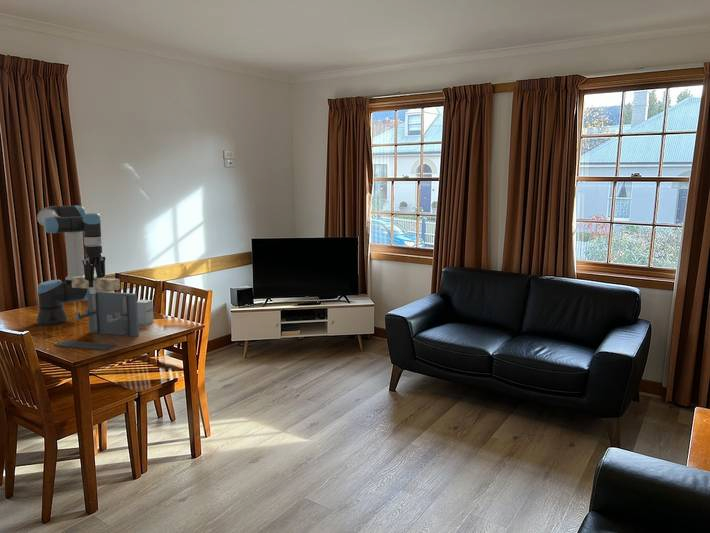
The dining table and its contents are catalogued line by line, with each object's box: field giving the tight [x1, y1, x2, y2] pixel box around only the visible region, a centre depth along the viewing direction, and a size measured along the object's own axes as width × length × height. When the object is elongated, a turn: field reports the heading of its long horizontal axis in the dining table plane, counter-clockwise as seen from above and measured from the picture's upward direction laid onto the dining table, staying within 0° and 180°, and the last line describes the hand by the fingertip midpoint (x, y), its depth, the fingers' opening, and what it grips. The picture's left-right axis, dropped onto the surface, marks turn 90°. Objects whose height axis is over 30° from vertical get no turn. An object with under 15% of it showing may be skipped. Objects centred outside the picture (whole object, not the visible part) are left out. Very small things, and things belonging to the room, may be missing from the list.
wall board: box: [87, 290, 140, 337], centre depth 270 cm, size 28×2×22 cm, turn 77°
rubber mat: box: [53, 339, 117, 352], centre depth 251 cm, size 28×8×1 cm, turn 77°
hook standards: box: [74, 294, 131, 338], centre depth 263 cm, size 20×14×21 cm
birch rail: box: [71, 276, 121, 292], centre depth 257 cm, size 24×4×5 cm, turn 77°
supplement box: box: [137, 299, 155, 326], centre depth 292 cm, size 7×7×13 cm
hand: (96, 292), depth 257 cm, fingers closed on birch rail, 4 cm apart
